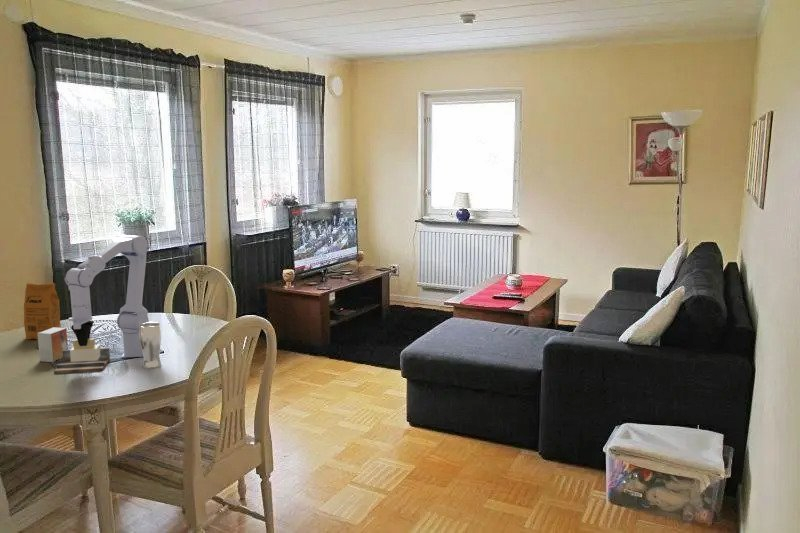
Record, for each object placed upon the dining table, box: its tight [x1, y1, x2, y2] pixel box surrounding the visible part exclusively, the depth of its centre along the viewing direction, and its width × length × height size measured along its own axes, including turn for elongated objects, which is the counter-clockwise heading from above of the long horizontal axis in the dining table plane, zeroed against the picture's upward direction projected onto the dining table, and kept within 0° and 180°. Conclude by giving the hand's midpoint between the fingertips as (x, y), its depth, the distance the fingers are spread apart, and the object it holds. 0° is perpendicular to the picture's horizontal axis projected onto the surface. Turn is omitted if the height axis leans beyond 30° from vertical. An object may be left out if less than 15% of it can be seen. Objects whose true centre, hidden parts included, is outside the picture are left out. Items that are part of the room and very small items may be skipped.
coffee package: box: [23, 282, 62, 341], centre depth 252 cm, size 10×12×22 cm
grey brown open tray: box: [53, 347, 111, 375], centre depth 220 cm, size 15×12×4 cm
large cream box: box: [69, 337, 101, 362], centre depth 212 cm, size 8×5×7 cm, turn 104°
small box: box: [37, 327, 69, 363], centre depth 227 cm, size 8×6×10 cm
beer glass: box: [139, 321, 162, 370], centre depth 220 cm, size 7×7×15 cm
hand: (84, 344), depth 211 cm, fingers closed on large cream box
